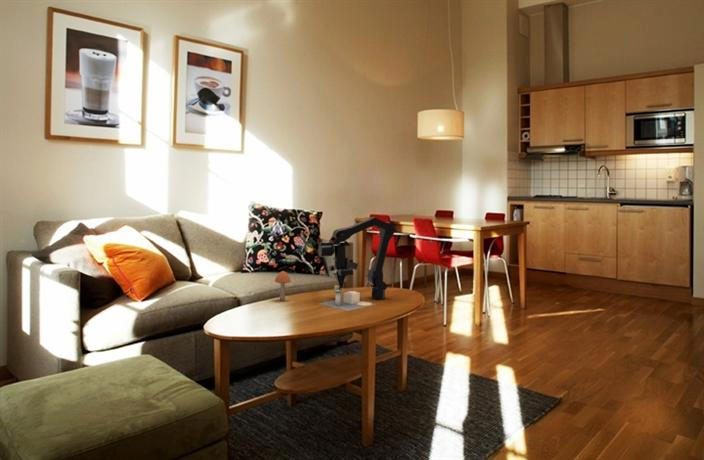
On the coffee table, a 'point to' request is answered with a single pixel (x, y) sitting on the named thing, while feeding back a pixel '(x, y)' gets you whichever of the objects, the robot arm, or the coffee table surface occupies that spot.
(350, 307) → the board
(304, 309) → the coffee table surface
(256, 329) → the coffee table surface
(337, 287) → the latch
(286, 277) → the mushroom
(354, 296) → the beige cube
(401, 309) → the coffee table surface
